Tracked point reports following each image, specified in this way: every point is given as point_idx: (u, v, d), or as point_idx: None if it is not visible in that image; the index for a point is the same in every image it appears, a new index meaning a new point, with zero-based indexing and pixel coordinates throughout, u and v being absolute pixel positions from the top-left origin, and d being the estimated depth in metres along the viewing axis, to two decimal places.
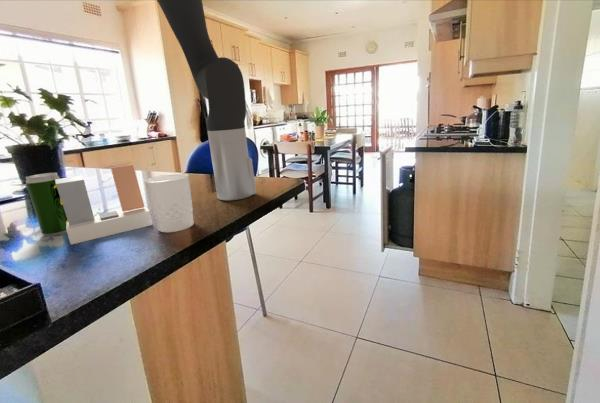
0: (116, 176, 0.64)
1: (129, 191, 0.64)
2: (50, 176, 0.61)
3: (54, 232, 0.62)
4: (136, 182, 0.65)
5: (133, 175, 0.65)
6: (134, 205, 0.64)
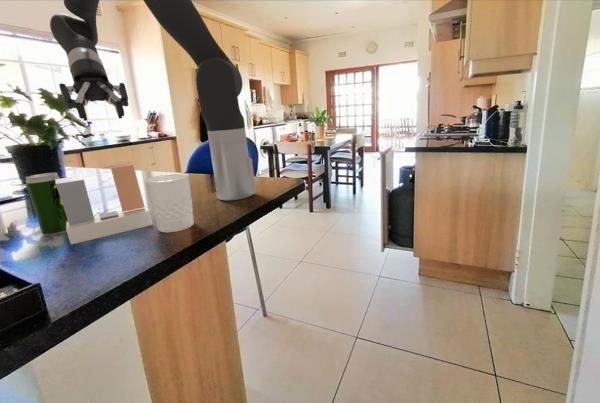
0: (116, 176, 0.64)
1: (129, 191, 0.64)
2: (50, 176, 0.61)
3: (54, 232, 0.62)
4: (136, 182, 0.65)
5: (133, 175, 0.65)
6: (134, 205, 0.64)
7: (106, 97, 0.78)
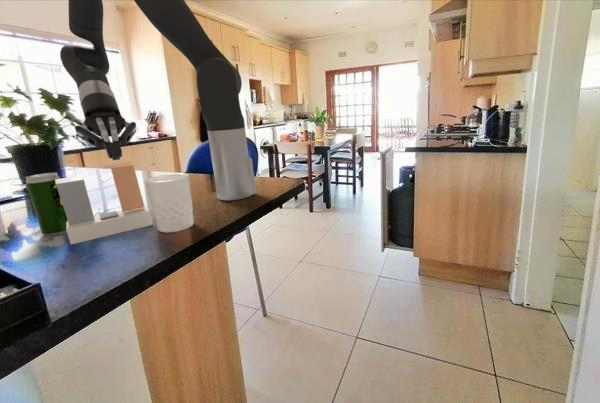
0: (116, 176, 0.64)
1: (129, 191, 0.64)
2: (50, 176, 0.61)
3: (54, 232, 0.62)
4: (136, 182, 0.65)
5: (133, 175, 0.65)
6: (134, 205, 0.64)
7: (110, 133, 0.74)
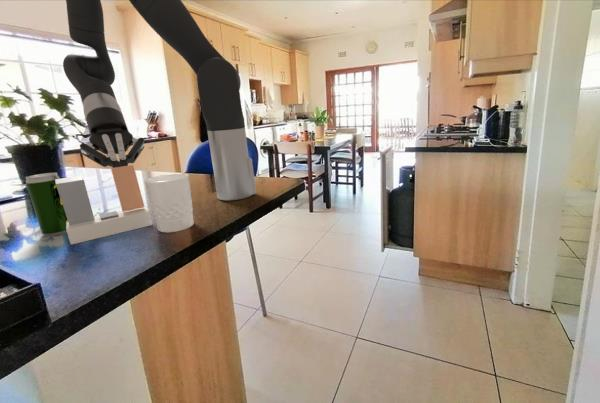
0: (116, 176, 0.64)
1: (129, 191, 0.64)
2: (50, 176, 0.61)
3: (54, 232, 0.62)
4: (136, 182, 0.65)
5: (133, 175, 0.65)
6: (134, 205, 0.64)
7: (117, 151, 0.69)
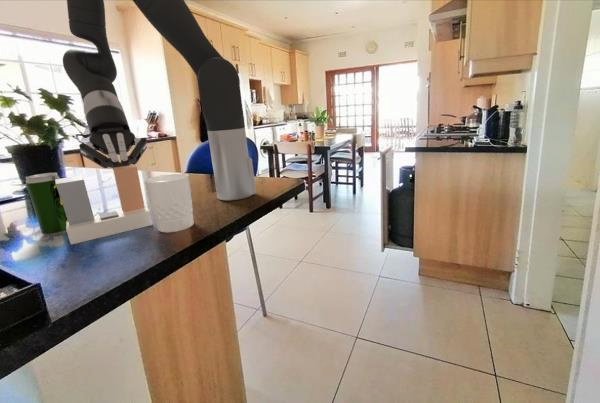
0: (118, 178, 0.61)
1: (131, 194, 0.63)
2: (50, 176, 0.61)
3: (54, 232, 0.62)
4: (138, 184, 0.63)
5: (136, 177, 0.62)
6: (135, 207, 0.64)
7: None
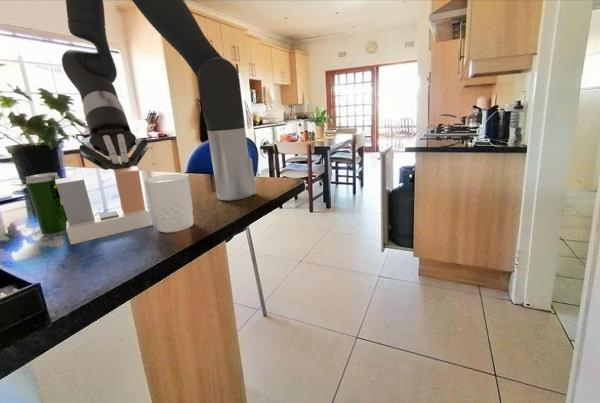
0: (120, 181, 0.60)
1: (131, 195, 0.62)
2: (50, 176, 0.61)
3: (54, 232, 0.62)
4: (140, 187, 0.62)
5: (137, 180, 0.62)
6: (135, 208, 0.64)
7: (119, 152, 0.65)
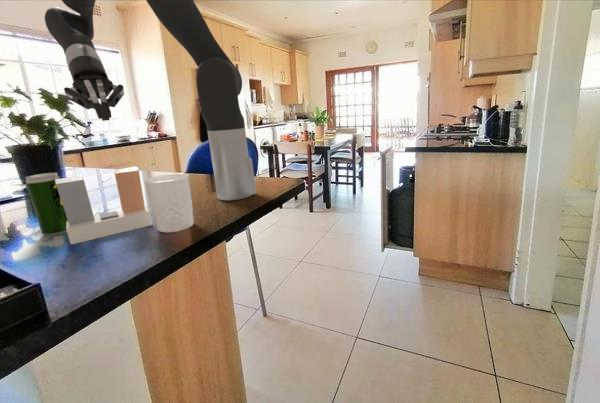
0: (120, 181, 0.60)
1: (131, 195, 0.62)
2: (50, 176, 0.61)
3: (54, 232, 0.62)
4: (140, 187, 0.62)
5: (137, 180, 0.62)
6: (135, 208, 0.64)
7: (99, 95, 0.77)
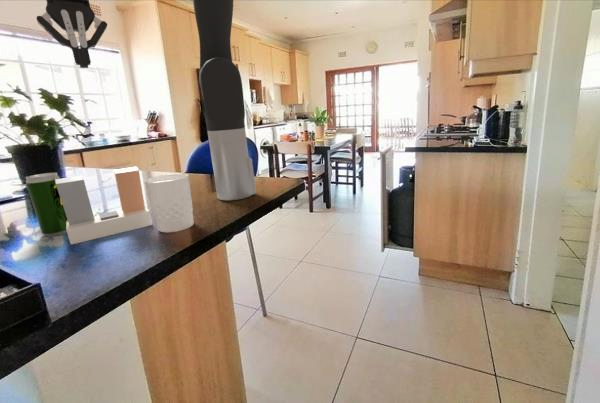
0: (120, 181, 0.60)
1: (131, 195, 0.62)
2: (50, 176, 0.61)
3: (54, 232, 0.62)
4: (140, 187, 0.62)
5: (137, 180, 0.62)
6: (135, 208, 0.64)
7: None
